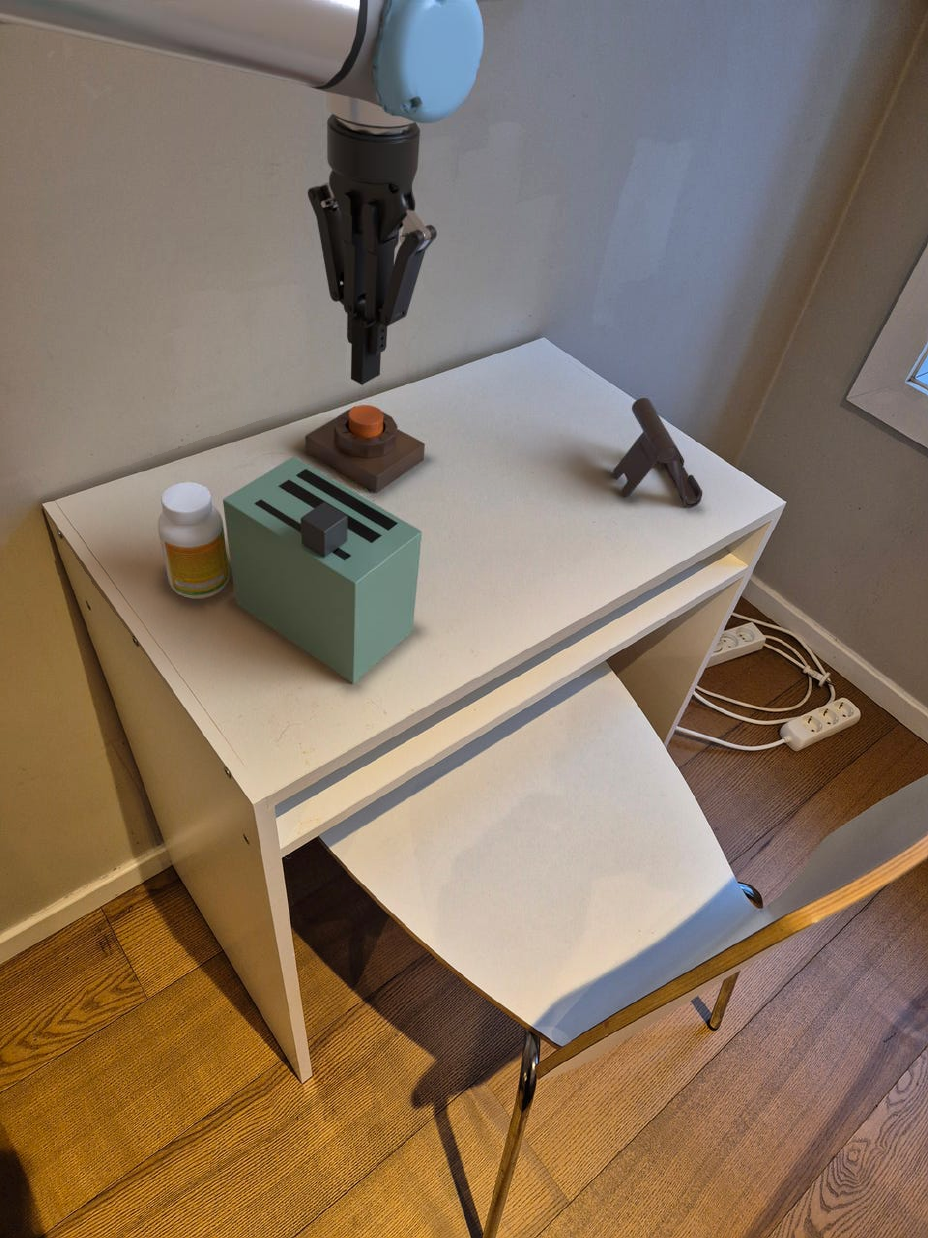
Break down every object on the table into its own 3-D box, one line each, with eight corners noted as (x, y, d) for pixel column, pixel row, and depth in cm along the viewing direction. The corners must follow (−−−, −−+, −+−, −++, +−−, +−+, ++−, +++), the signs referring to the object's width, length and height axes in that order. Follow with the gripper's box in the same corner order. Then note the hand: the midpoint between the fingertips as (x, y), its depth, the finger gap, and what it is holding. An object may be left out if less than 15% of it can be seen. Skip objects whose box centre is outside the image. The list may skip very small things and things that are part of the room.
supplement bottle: (240, 586, 79) (230, 503, 72) (185, 608, 76) (169, 525, 69) (213, 551, 81) (201, 469, 74) (158, 572, 79) (141, 488, 72)
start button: (341, 428, 91) (341, 414, 89) (364, 414, 93) (364, 400, 91) (367, 443, 89) (367, 428, 88) (389, 428, 92) (390, 414, 90)
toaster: (235, 603, 77) (222, 498, 68) (298, 558, 82) (293, 455, 73) (353, 684, 72) (355, 583, 64) (412, 631, 77) (422, 530, 68)
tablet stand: (698, 509, 94) (723, 445, 88) (630, 511, 92) (651, 447, 86) (671, 459, 99) (692, 397, 93) (606, 461, 98) (624, 397, 92)
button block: (305, 452, 93) (304, 421, 90) (354, 422, 98) (355, 391, 95) (376, 493, 90) (377, 462, 87) (423, 460, 94) (426, 429, 91)
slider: (301, 543, 66) (300, 517, 64) (324, 527, 67) (324, 501, 65) (324, 558, 65) (324, 532, 63) (347, 541, 66) (348, 515, 65)
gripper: (466, 133, 69) (439, 389, 86) (344, 87, 74) (341, 339, 91) (407, 152, 65) (391, 418, 82) (282, 102, 69) (291, 364, 86)
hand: (365, 376), depth 86 cm, fingers closed
